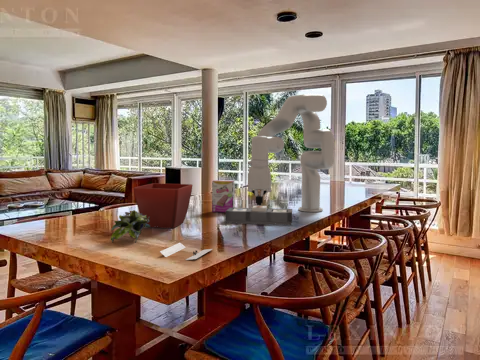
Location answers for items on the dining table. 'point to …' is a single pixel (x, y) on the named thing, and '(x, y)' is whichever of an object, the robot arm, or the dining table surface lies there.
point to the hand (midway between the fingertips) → (259, 204)
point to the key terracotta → (259, 208)
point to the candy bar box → (222, 195)
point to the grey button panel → (259, 217)
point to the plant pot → (163, 203)
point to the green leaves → (130, 225)
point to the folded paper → (179, 247)
